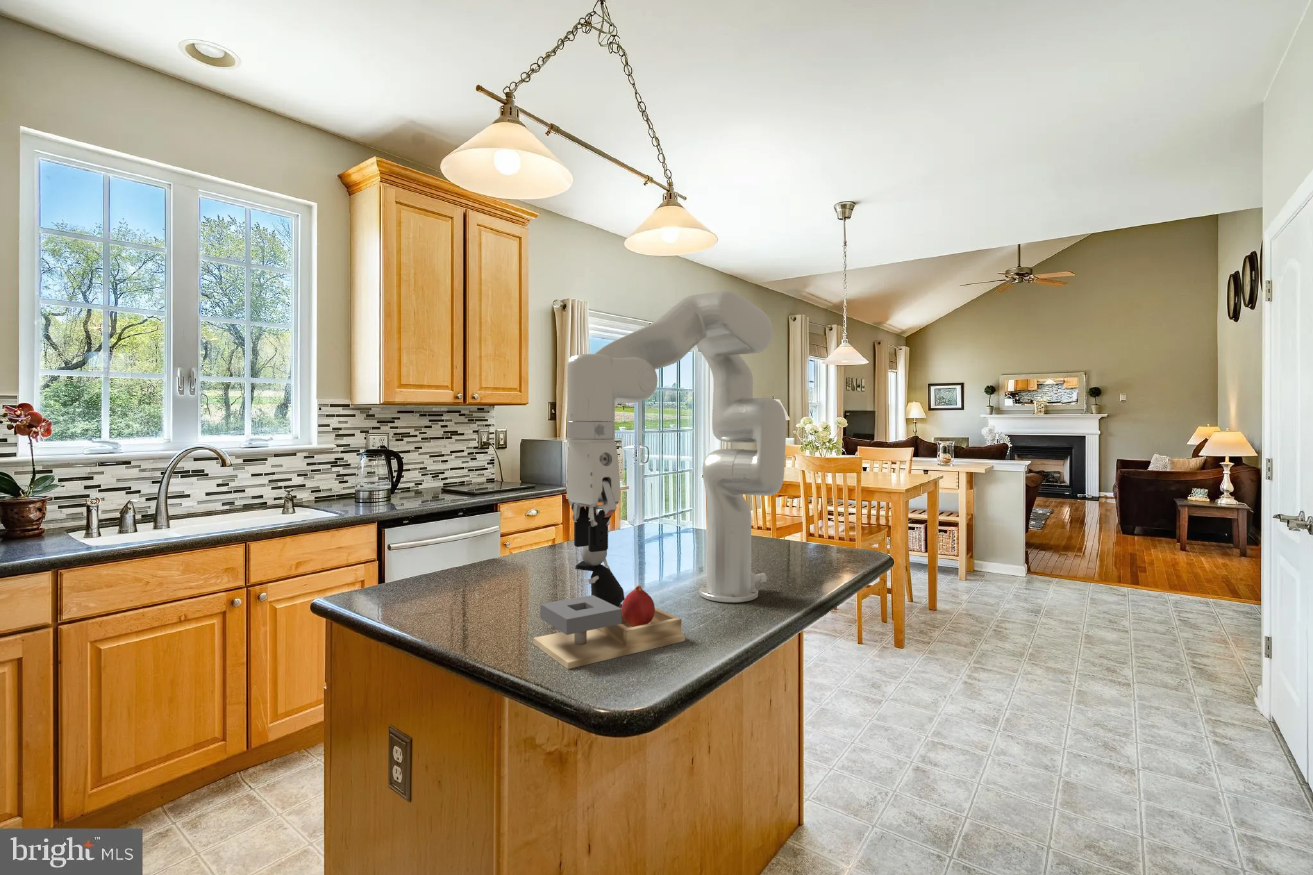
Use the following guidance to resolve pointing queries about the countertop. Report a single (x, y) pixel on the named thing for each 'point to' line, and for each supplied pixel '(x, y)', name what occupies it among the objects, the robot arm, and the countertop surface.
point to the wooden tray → (611, 641)
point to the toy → (601, 577)
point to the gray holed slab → (580, 614)
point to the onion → (638, 607)
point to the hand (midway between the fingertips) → (590, 547)
